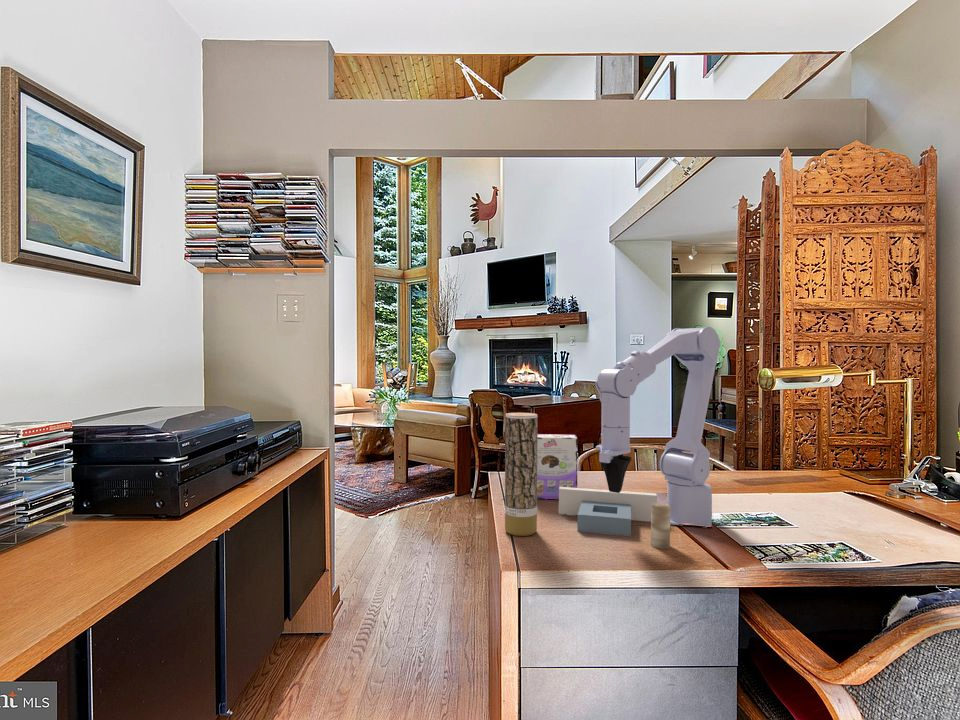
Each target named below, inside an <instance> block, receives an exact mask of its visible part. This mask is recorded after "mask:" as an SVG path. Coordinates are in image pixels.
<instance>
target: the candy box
mask: <svg viewBox="0 0 960 720" xmlns="http://www.w3.org/2000/svg"><path fill="white" fill-rule="evenodd" d="M560 487H571V488H578V437H577V435H576V434H555V433H554V434H550V433H549V434H546V433H545V434H543V433H542V434H541V433H538V438H537V500H547V499H559V488H560Z"/></svg>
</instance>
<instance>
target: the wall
mask: <svg viewBox="0 0 960 720" xmlns="http://www.w3.org/2000/svg"><path fill="white" fill-rule="evenodd" d="M657 498H658V496H657V493H656V492H655V493H652V492H641V491H640V492H639V491H637V492H636V491H628V490H627V491H625V490H624V491H623V490H621V492H620V493H616V492H610V491H609V489H597V488H596V489H595V488H584V487H583V488H582V487H577V488H571V487H560V488H559V500H558V515H564V514H567V516H576V515H577V517H578V512H579V508H580V505H581V502H582V501H591V502H604V503H616V504H629V505H631V521H639V522H648V523H649V522H650V523H651V504H653V503H658V500H657Z"/></svg>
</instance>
